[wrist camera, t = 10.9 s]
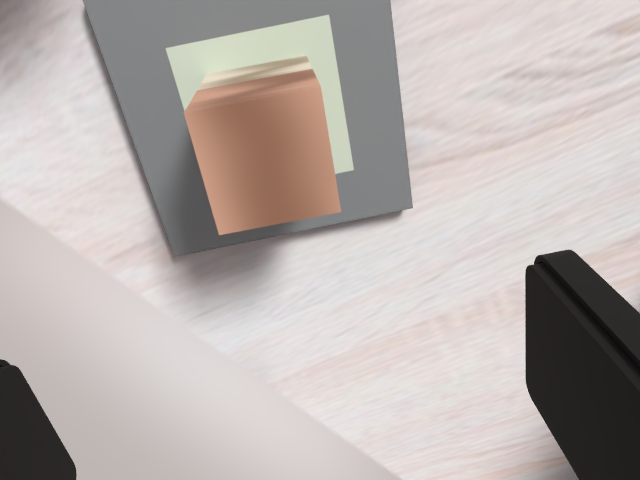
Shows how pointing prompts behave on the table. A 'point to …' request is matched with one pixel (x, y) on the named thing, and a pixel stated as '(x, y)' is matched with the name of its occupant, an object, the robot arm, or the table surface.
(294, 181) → the brick stack
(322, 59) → the base board
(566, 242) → the table surface
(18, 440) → the robot arm
